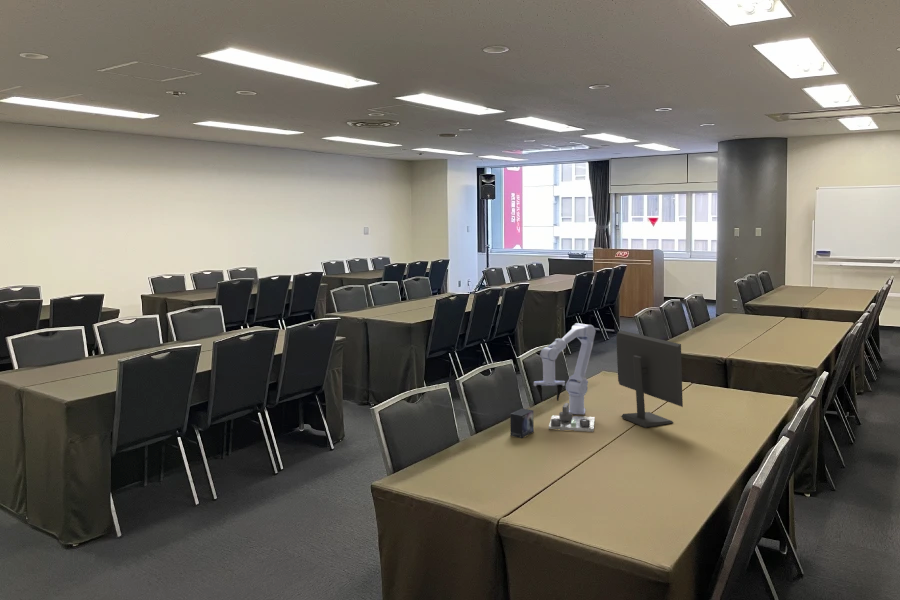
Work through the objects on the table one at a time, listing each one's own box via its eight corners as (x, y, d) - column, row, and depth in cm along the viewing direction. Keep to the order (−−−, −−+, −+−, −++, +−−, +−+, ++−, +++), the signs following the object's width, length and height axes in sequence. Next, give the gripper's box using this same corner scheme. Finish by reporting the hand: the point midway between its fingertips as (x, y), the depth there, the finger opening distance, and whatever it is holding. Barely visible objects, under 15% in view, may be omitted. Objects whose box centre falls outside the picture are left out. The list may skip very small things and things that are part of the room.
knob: (558, 421, 313) (557, 406, 312) (562, 414, 324) (562, 399, 323) (571, 422, 311) (570, 407, 310) (575, 414, 322) (574, 400, 321)
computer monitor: (693, 431, 298) (694, 342, 293) (663, 436, 292) (664, 346, 288) (632, 407, 338) (632, 328, 334) (605, 411, 333) (605, 331, 328)
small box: (522, 438, 295) (522, 415, 294) (509, 436, 299) (509, 413, 298) (534, 432, 304) (534, 409, 302) (522, 430, 308) (521, 407, 306)
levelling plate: (552, 418, 324) (552, 410, 323) (594, 420, 319) (594, 412, 319) (548, 429, 307) (548, 421, 306) (593, 431, 302) (593, 423, 301)
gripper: (534, 374, 316) (534, 402, 318) (565, 374, 315) (565, 402, 317) (533, 371, 323) (533, 398, 325) (563, 370, 322) (564, 398, 324)
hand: (549, 400), depth 321 cm, fingers open, 7 cm apart
